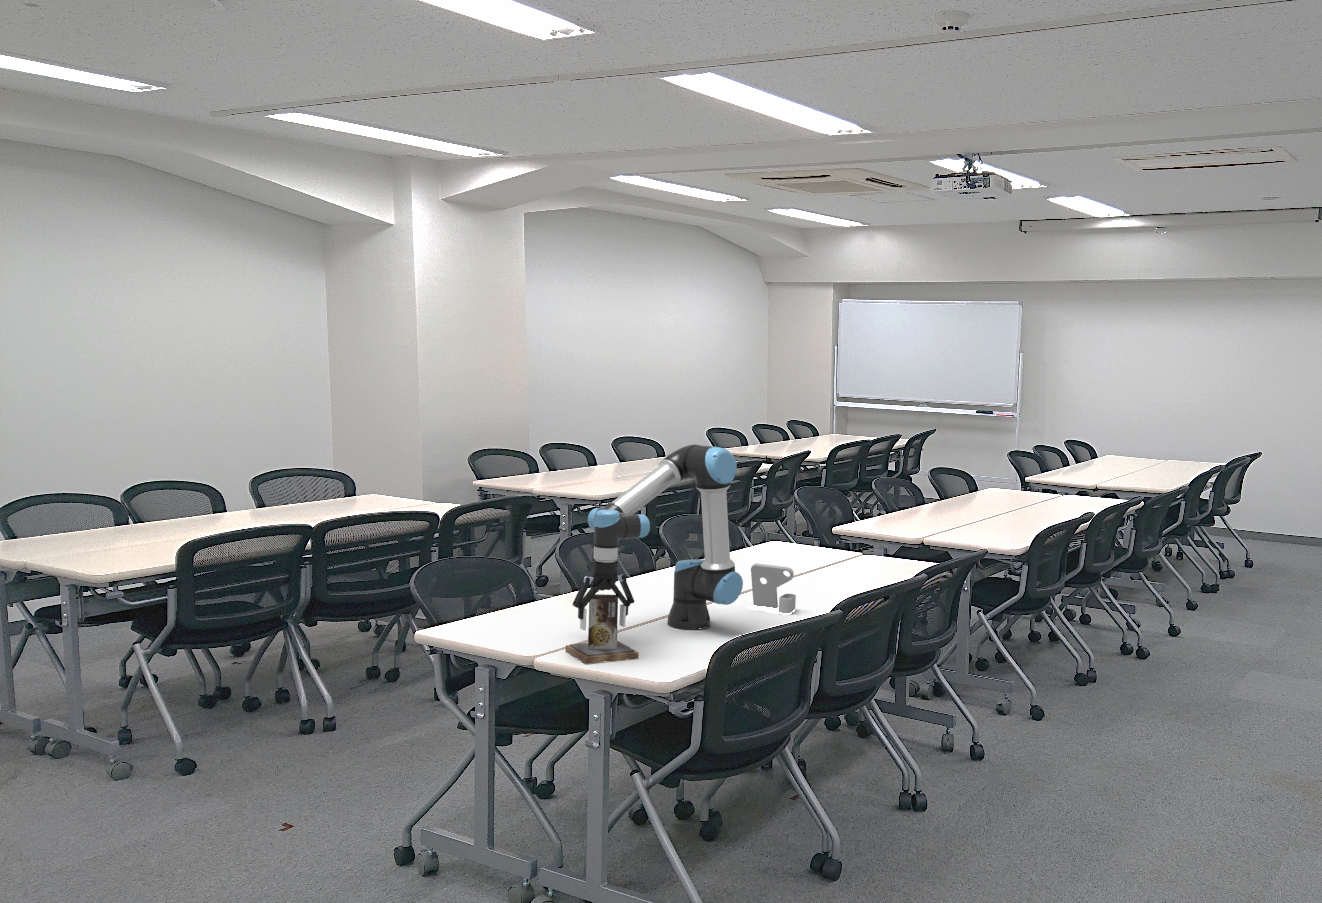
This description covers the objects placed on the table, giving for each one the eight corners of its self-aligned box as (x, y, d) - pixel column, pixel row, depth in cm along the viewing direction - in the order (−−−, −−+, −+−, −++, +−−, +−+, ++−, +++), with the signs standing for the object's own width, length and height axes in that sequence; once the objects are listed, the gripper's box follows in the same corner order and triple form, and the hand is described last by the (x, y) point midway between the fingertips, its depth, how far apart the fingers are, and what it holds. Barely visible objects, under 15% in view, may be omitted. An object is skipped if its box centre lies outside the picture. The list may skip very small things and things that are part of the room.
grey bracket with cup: (797, 611, 410) (800, 564, 408) (789, 616, 401) (792, 568, 399) (754, 605, 417) (756, 559, 416) (745, 610, 408) (747, 563, 406)
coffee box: (616, 644, 340) (618, 594, 339) (616, 650, 334) (618, 598, 332) (587, 643, 340) (589, 593, 338) (587, 649, 333) (589, 597, 332)
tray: (616, 646, 348) (617, 638, 348) (638, 658, 335) (638, 650, 334) (565, 651, 339) (565, 643, 339) (585, 664, 326) (585, 656, 326)
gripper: (635, 556, 344) (632, 621, 345) (563, 559, 332) (561, 627, 333) (646, 560, 337) (643, 627, 339) (573, 564, 325) (571, 633, 327)
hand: (602, 627), depth 336 cm, fingers open, 13 cm apart
